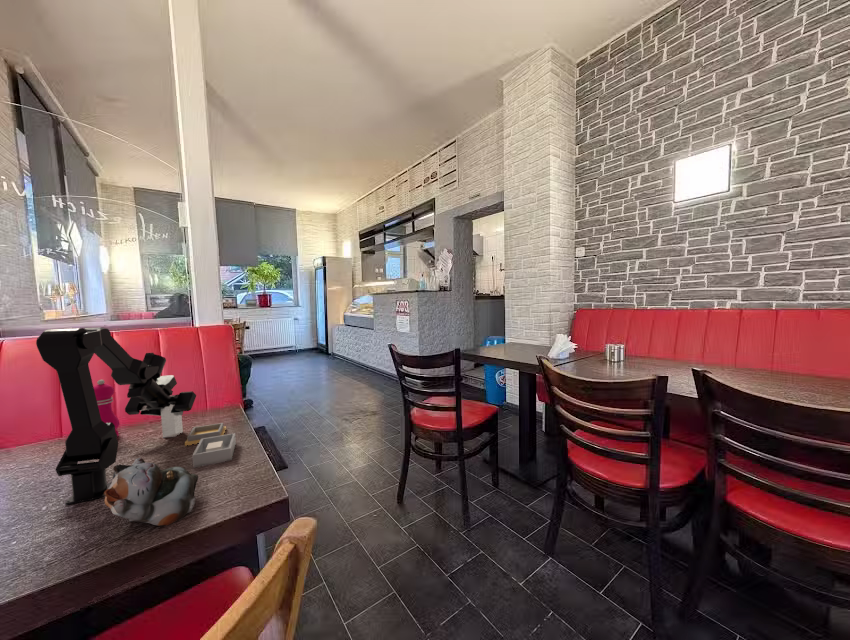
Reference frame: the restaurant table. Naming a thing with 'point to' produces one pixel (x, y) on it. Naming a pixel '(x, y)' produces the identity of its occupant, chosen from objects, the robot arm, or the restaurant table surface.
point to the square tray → (204, 433)
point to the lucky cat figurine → (151, 493)
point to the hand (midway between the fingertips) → (174, 414)
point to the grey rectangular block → (171, 422)
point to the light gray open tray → (214, 450)
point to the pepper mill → (106, 403)
